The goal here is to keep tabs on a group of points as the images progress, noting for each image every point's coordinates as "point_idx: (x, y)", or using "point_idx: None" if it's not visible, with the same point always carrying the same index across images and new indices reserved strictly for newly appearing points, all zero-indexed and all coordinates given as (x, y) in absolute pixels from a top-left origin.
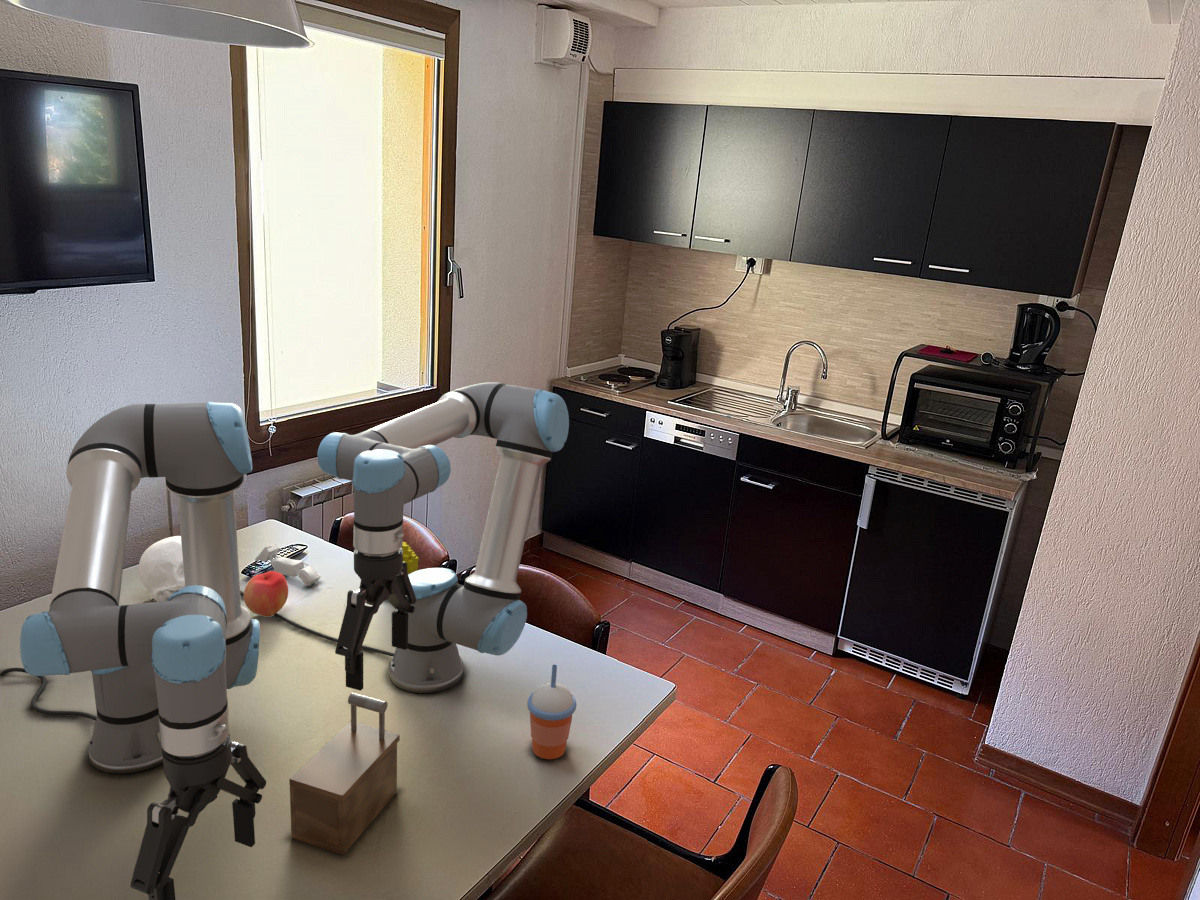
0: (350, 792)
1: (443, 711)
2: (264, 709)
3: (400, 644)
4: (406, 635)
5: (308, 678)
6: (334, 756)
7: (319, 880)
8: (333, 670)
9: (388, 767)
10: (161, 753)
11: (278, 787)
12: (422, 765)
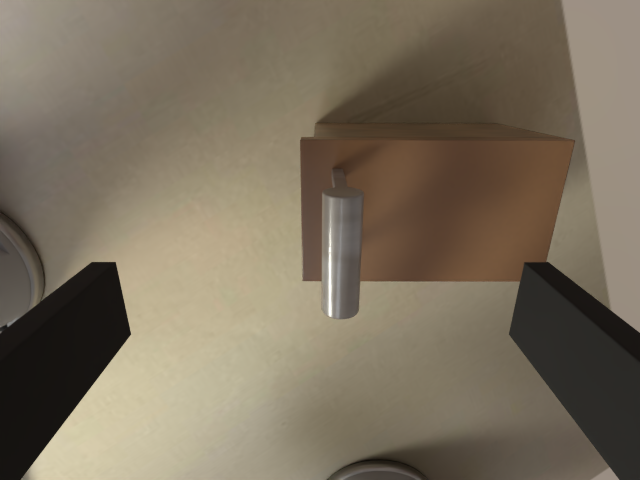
0: (533, 138)
1: (48, 166)
2: (229, 429)
3: (108, 302)
4: (53, 306)
5: (124, 423)
6: (441, 239)
7: (558, 128)
8: (79, 405)
9: (353, 132)
10: (398, 477)
11: (381, 310)
12: (222, 116)
